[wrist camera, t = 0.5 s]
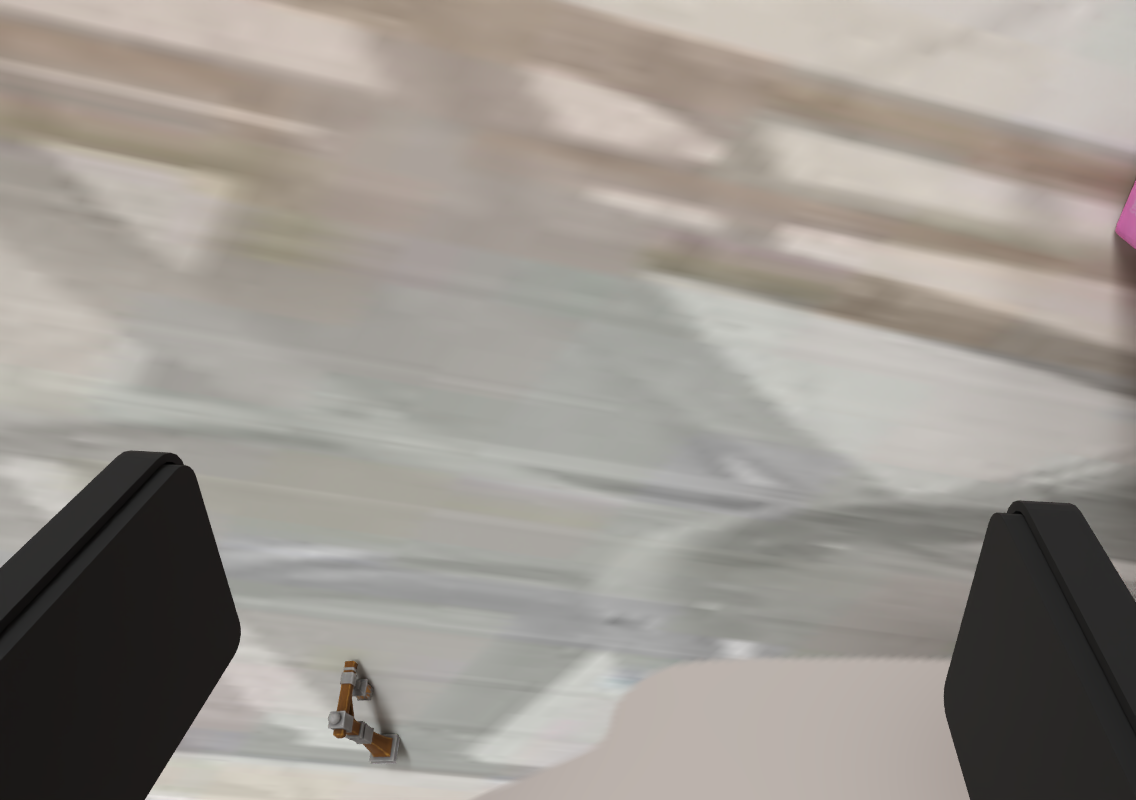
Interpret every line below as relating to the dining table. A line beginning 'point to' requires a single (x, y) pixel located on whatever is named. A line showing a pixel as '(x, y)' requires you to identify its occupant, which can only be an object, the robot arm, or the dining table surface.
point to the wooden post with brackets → (359, 731)
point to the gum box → (1128, 220)
